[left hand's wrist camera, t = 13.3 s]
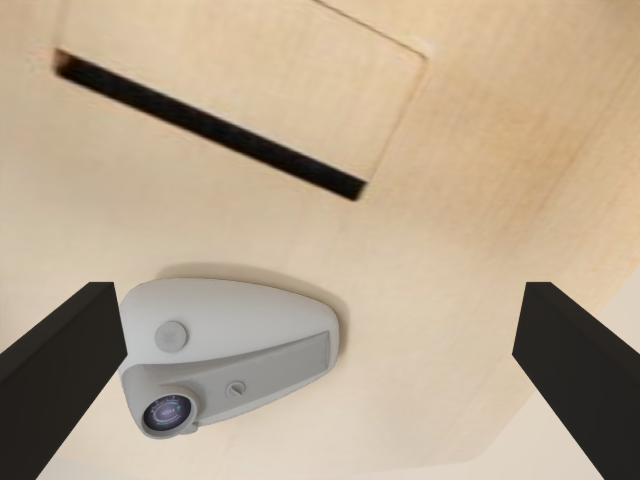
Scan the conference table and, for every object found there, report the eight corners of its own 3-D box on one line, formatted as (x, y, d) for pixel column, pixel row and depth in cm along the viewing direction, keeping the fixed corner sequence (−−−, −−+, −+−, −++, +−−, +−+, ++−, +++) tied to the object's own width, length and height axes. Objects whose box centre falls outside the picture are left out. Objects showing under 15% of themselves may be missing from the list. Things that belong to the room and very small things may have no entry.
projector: (245, 432, 53) (218, 552, 39) (96, 333, 47) (4, 431, 34) (361, 327, 47) (378, 423, 33) (207, 201, 42) (152, 253, 28)
